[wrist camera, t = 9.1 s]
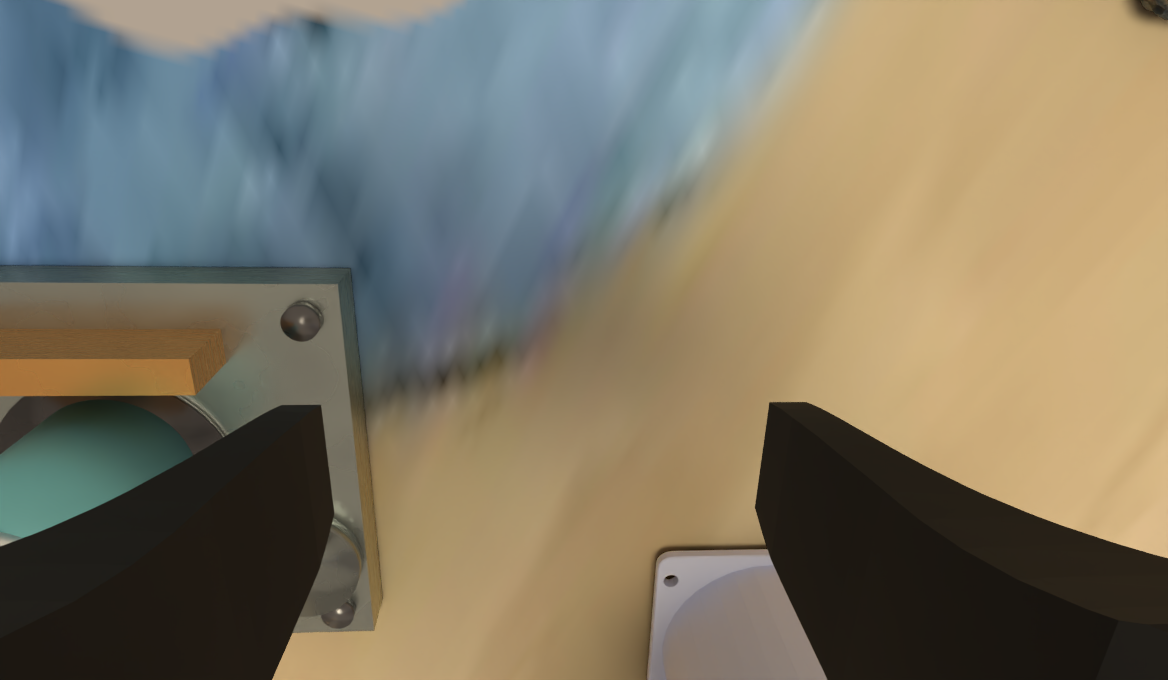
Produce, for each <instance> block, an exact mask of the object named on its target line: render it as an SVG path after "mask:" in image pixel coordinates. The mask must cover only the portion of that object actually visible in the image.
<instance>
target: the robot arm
mask: <svg viewBox="0 0 1168 680" xmlns="http://www.w3.org/2000/svg"><path fill="white" fill-rule="evenodd" d="M755 509H756V512H757V516H758V519H759V523H760V526H761V530H762V533H763V537H764V540H765V543H766V546H767V549H749V550H697V551H669V552H665V553H663V554H661V555H660V556H659V557H658V559H657V562H656V570H655V582H654V595H653V608H652V620H651V633H650V645H649V658H648V670H647V680H1168V558H1164V557H1160V556H1157V555H1153V554H1149V553H1146V552H1143V551H1139V550H1136V549H1132V548H1129V547H1126V546H1122V545H1119V544H1116V543H1112V542H1109V541H1106V540H1103V539H1100V538H1097V537H1094V536H1091V535H1088V534H1085V533H1082V532H1079V531H1076V530H1073V529H1070V528H1067V527H1064V526H1061V525H1059V524H1056V523H1053V522H1050V521H1048V520H1045V519H1042V518H1040V517H1037V516H1034V515H1032V514H1029V513H1027V512H1024V511H1022V510H1020V509H1017V508H1015V507H1012V506H1010V505H1008V504H1005V503H1003V502H1000V501H998V500H995V499H993V498H991V497H988V496H986V495H984V494H981V493H979V492H977V491H975V490H973V489H970V488H968V487H966V486H964V485H962V484H960V483H958V482H956V481H954V480H952V479H950V478H948V477H946V476H944V475H942V474H940V473H938V472H936V471H934V470H932V469H930V468H928V467H926V466H924V465H922V464H920V463H918V462H916V461H915V460H913V459H911V458H909V457H907V456H905V455H903V454H902V453H900V452H898V451H896V450H894V449H893V448H891V447H889V446H887V445H885V444H884V443H882V442H880V441H878V440H877V439H875V438H873V437H871V436H870V435H868V434H866V433H864V432H863V431H861V430H859V429H857V428H855V427H854V426H852V425H850V424H848V423H847V422H845V421H843V420H841V419H840V418H838V417H836V416H834V415H832V414H830V413H828V412H827V411H825V410H823V409H821V408H818V407H816V406H814V405H812V404H809V403H807V402H770V403H769V410H768V418H767V425H766V432H765V439H764V447H763V454H762V461H761V468H760V476H759V483H758V490H757V497H756V504H755ZM333 518H334V506H333V498H332V489H331V481H330V473H329V465H328V457H327V448H326V440H325V432H324V424H323V416H322V408H321V405H280V406H278V407H276V408H274V409H272V410H270V411H268V412H266V413H264V414H262V415H260V416H259V417H257V418H255V419H253V420H252V421H250V422H248V423H247V424H245V425H243V426H241V427H240V428H238V429H237V430H235V431H233V432H232V433H230V434H228V435H227V436H225V437H223V438H221V439H220V440H218V441H216V442H215V443H213V444H211V445H210V446H208V447H206V448H205V449H203V450H201V451H200V452H198V453H196V454H195V455H193V456H191V457H190V458H188V459H186V460H184V461H183V462H181V463H179V464H177V465H175V466H173V467H172V468H170V469H168V470H166V471H164V472H162V473H161V474H159V475H157V476H155V477H153V478H151V479H149V480H148V481H146V482H144V483H142V484H140V485H138V486H137V487H135V488H133V489H131V490H129V491H127V492H125V493H123V494H121V495H119V496H117V497H115V498H113V499H111V500H109V501H107V502H105V503H103V504H101V505H99V506H97V507H95V508H93V509H91V510H88V511H86V512H84V513H81V514H79V515H77V516H75V517H72V518H70V519H68V520H66V521H63V522H61V523H59V524H57V525H54V526H52V527H50V528H47V529H45V530H42V531H40V532H38V533H35V534H32V535H30V536H27V537H24V538H22V539H19V540H16V541H14V542H11V543H8V544H6V545H3V546H0V680H272V678H273V676H274V674H275V671H276V669H277V667H278V665H279V662H280V660H281V658H282V655H283V653H284V651H285V649H286V646H287V644H288V642H289V639H290V637H291V635H292V633H293V630H294V628H295V626H296V623H297V621H298V619H299V616H300V614H301V612H302V610H303V607H304V605H305V602H306V600H307V598H308V595H309V593H310V591H311V588H312V586H313V584H314V581H315V579H316V576H317V574H318V572H319V569H320V566H321V563H322V559H323V556H324V552H325V549H326V545H327V541H328V537H329V533H330V529H331V526H332V522H333ZM669 575H675V577H674V578H672V579H665V577H667V576H669Z"/></svg>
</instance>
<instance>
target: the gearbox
mask: <svg viewBox="0 0 1168 680" xmlns="http://www.w3.org/2000/svg"><path fill="white" fill-rule="evenodd" d="M97 399H100V400H113V401H120V402H124V403H128V404H132V405H135V406H137V407H140V408H143V409H145V410H147V411H149V412H151V413H153V414H155V415H156V416H158V417H159V418H161V419H163V420H164V421H165V422H166V423H168V424H169V425H170V426H171V427H173V428H174V429H175V430H176V431H177V432H178V433H179V434H180V436H181V437H182V438H183V439H184V441H185V442H186V443H187V445H188V447H189V448H190V450H191V452H192V454H193V455H195V454H196V453H198V452H200V451H201V450H203V449H205V448H206V447H208V446H210V445H211V444H213V443H215V442H216V441H218V440H220V439H221V438H223V437H225V436H227V435H228V434H230V433H232V432H233V431H235V430H237V429H238V428H240V427H241V426H243V425H245V424H247V423H248V422H250V421H252V420H253V419H255V418H257V417H259V416H260V415H262V414H264V413H266V412H268V411H270V410H272V409H274V408H276V407H278V406H280V405H321V408H322V416H323V424H324V432H325V440H326V448H327V457H328V465H329V473H330V481H331V489H332V498H333V506H334V518H333V522H332V526H331V529H330V533H329V537H328V541H327V545H326V549H325V552H324V556H323V559H322V563H321V566H320V569H319V572H318V574H317V576H316V579H315V581H314V584H313V586H312V588H311V591H310V593H309V595H308V598H307V600H306V602H305V605H304V607H303V610H302V612H301V614H300V616H299V619H298V621H297V623H296V626H295V628H294V630H293V633H301V632H339V631H374V629H375V625H376V622H377V618H378V614H379V610H380V607H381V603H382V599H383V597H382V586H381V576H380V566H379V556H378V545H377V535H376V525H375V515H374V504H373V494H372V484H371V474H370V463H369V453H368V443H367V433H366V422H365V412H364V402H363V392H362V381H361V371H360V361H359V350H358V340H357V330H356V320H355V309H354V299H353V289H352V279H351V268H268V267H134V266H0V454H2V453H3V452H4V451H5V450H7V449H8V448H9V447H11V446H12V445H13V444H14V443H16V442H17V441H18V440H20V439H21V438H22V437H23V436H25V435H26V434H27V433H29V432H30V431H31V430H32V429H34V428H35V427H36V426H38V425H39V424H40V423H41V422H43V421H44V420H45V419H47V418H48V417H49V416H50V415H52V414H53V413H55V412H56V411H57V410H59V409H61V408H63V407H65V406H67V405H70V404H73V403H76V402H81V401H86V400H97Z"/></svg>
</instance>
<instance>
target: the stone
mask: <svg viewBox="0 0 1168 680" xmlns="http://www.w3.org/2000/svg"><path fill="white" fill-rule="evenodd" d="M1141 3H1142V6H1143V7H1144V8H1145V9H1146V10H1150V11H1153V12H1154V13H1155V14H1156V15H1157V16H1159V17H1162V18H1163V19H1164V20H1168V0H1141Z"/></svg>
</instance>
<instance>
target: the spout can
mask: <svg viewBox="0 0 1168 680" xmlns="http://www.w3.org/2000/svg"><path fill="white" fill-rule="evenodd" d="M191 456H193V454H192V452H191V450H190V448H189V447H188V445H187V443H186V442H185V441H184V439H183V438H182V437H181V436H180V434H179V433H178V432H177V431H176V430H175V429H174V428H173V427H171V426H170V425H169V424H168V423H166V422H165V421H164V420H163V419H161V418H159V417H158V416H156V415H155V414H153V413H151V412H149V411H147V410H145V409H143V408H140V407H137V406H135V405H132V404H128V403H124V402H120V401H113V400H100V399H97V400H86V401H81V402H76V403H73V404H70V405H67V406H65V407H63V408H61V409H59V410H57V411H56V412H55V413H53V414H52V415H50V416H49V417H48V418H47V419H45V420H44V421H43V422H41V423H40V424H39V425H38V426H36V427H35V428H34V429H32V430H31V431H30V432H29V433H27V434H26V435H25V436H23V437H22V438H21V439H20V440H18V441H17V442H16V443H14V444H13V445H12V446H11V447H9V448H8V449H7V450H5V451H4V452H3V453H2V454H0V546H3V545H6V544H8V543H11V542H14V541H16V540H19V539H22V538H24V537H27V536H30V535H32V534H35V533H38V532H40V531H42V530H45V529H47V528H50V527H52V526H54V525H57V524H59V523H61V522H63V521H66V520H68V519H70V518H72V517H75V516H77V515H79V514H81V513H84V512H86V511H88V510H91V509H93V508H95V507H97V506H99V505H101V504H103V503H105V502H107V501H109V500H111V499H113V498H115V497H117V496H119V495H121V494H123V493H125V492H127V491H129V490H131V489H133V488H135V487H137V486H138V485H140V484H142V483H144V482H146V481H148V480H149V479H151V478H153V477H155V476H157V475H159V474H161V473H162V472H164V471H166V470H168V469H170V468H172V467H173V466H175V465H177V464H179V463H181V462H183V461H184V460H186V459H188V458H190V457H191Z"/></svg>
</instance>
